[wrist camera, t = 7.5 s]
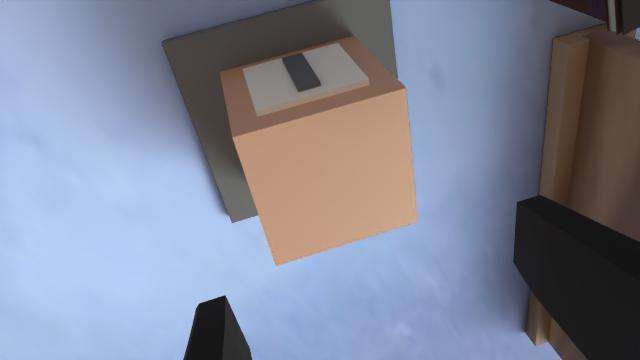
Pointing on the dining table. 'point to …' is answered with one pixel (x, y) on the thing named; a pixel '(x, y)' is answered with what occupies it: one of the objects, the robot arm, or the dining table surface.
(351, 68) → the letter cube
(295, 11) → the charcoal pad
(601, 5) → the book
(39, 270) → the dining table surface
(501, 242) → the dining table surface
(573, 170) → the walnut screen
